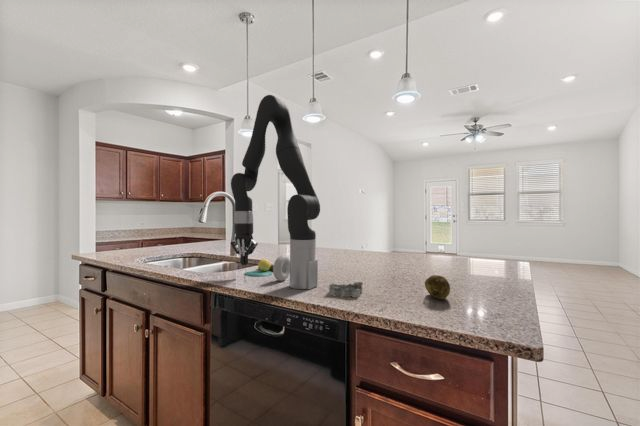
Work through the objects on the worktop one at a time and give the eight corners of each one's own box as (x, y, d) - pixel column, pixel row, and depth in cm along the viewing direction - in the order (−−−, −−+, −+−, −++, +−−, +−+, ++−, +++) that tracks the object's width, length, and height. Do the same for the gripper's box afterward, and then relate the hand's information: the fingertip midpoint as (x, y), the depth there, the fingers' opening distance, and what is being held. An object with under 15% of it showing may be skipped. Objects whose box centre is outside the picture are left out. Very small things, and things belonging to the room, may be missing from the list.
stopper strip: (285, 271, 140) (285, 266, 140) (282, 272, 138) (282, 266, 138) (261, 268, 146) (261, 263, 146) (258, 269, 145) (258, 263, 145)
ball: (275, 266, 141) (270, 257, 138) (268, 274, 137) (262, 266, 134) (266, 264, 144) (261, 255, 141) (259, 273, 140) (253, 264, 138)
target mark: (277, 272, 137) (277, 272, 137) (260, 277, 126) (260, 277, 126) (257, 270, 142) (257, 269, 142) (238, 274, 132) (238, 274, 132)
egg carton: (364, 294, 103) (364, 282, 103) (358, 300, 96) (358, 287, 96) (334, 290, 107) (334, 279, 107) (326, 296, 100) (326, 283, 100)
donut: (278, 283, 116) (279, 257, 116) (271, 282, 117) (271, 256, 117) (292, 278, 125) (292, 254, 125) (285, 277, 126) (285, 253, 126)
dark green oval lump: (454, 296, 100) (454, 271, 100) (447, 306, 89) (448, 278, 89) (427, 292, 104) (428, 269, 104) (418, 302, 93) (418, 275, 93)
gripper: (262, 222, 126) (262, 264, 126) (238, 222, 132) (238, 262, 132) (250, 222, 120) (250, 267, 119) (225, 222, 126) (225, 265, 125)
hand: (244, 264), depth 126 cm, fingers closed
